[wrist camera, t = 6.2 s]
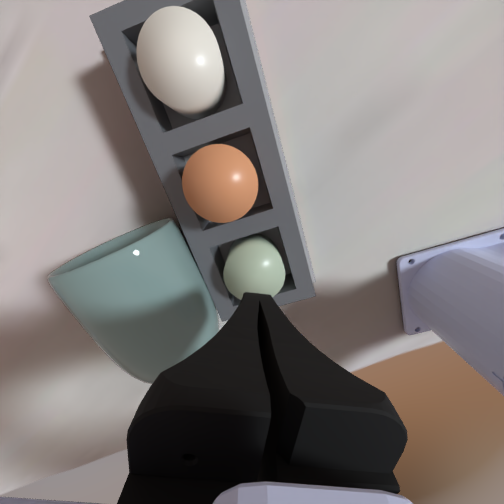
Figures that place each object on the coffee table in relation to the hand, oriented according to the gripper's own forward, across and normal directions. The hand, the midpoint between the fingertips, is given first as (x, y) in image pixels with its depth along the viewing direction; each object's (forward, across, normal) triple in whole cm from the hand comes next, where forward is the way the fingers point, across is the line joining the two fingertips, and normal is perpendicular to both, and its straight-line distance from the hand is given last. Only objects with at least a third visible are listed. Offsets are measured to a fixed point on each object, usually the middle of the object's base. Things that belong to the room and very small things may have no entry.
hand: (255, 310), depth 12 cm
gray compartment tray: (+8, +2, -5) cm, 10 cm away
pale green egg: (+7, 0, 0) cm, 7 cm away
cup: (+5, +4, +8) cm, 10 cm away
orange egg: (+6, +2, -5) cm, 8 cm away
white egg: (+7, +5, -11) cm, 14 cm away
